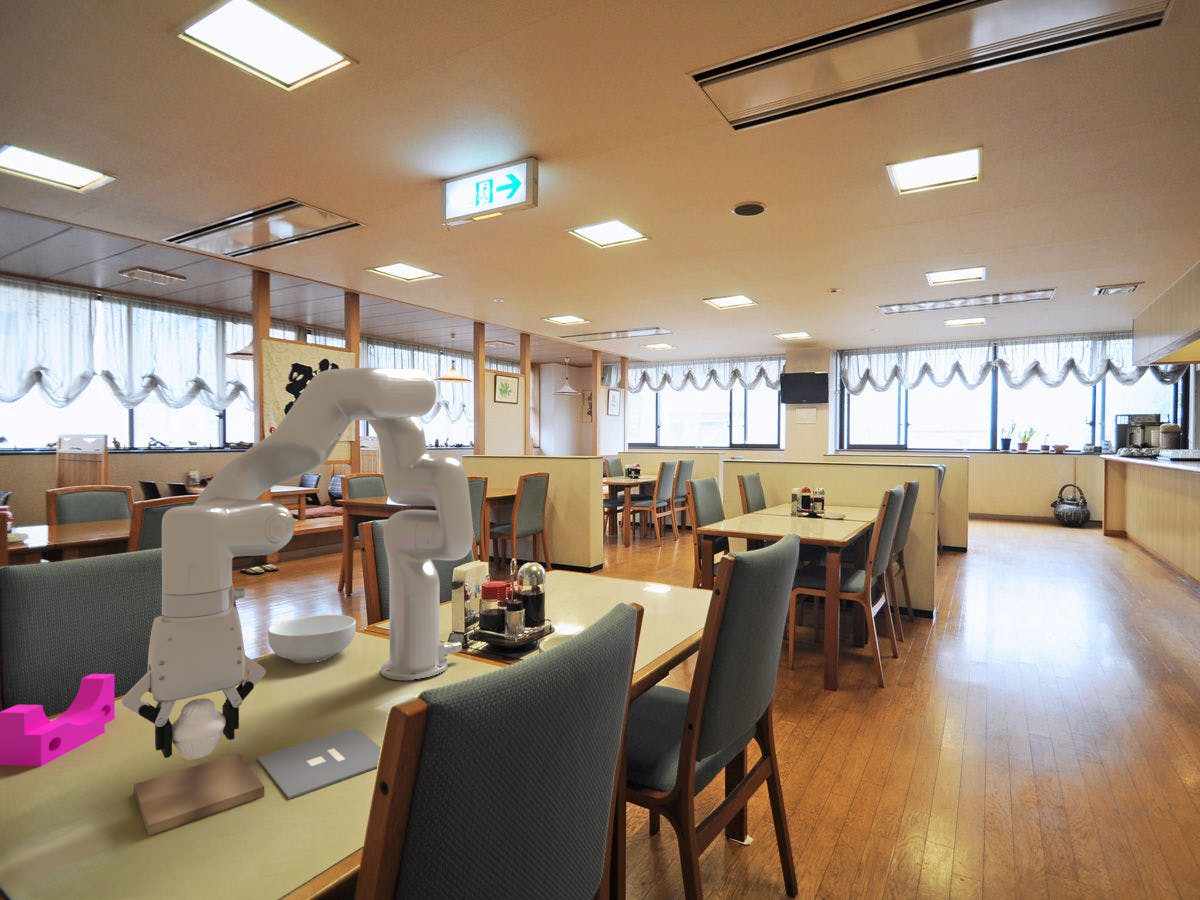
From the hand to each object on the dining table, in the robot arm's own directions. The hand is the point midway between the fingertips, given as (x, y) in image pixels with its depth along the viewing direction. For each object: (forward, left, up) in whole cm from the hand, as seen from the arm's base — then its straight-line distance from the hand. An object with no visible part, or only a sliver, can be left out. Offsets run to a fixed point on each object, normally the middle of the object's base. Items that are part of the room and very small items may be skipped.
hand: (198, 743), depth 80 cm
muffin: (0, 0, -1) cm, 1 cm away
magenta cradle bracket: (+11, -31, -7) cm, 34 cm away
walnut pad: (0, 0, -6) cm, 6 cm away
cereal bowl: (-29, -45, -7) cm, 54 cm away
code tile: (-15, +2, -6) cm, 16 cm away
